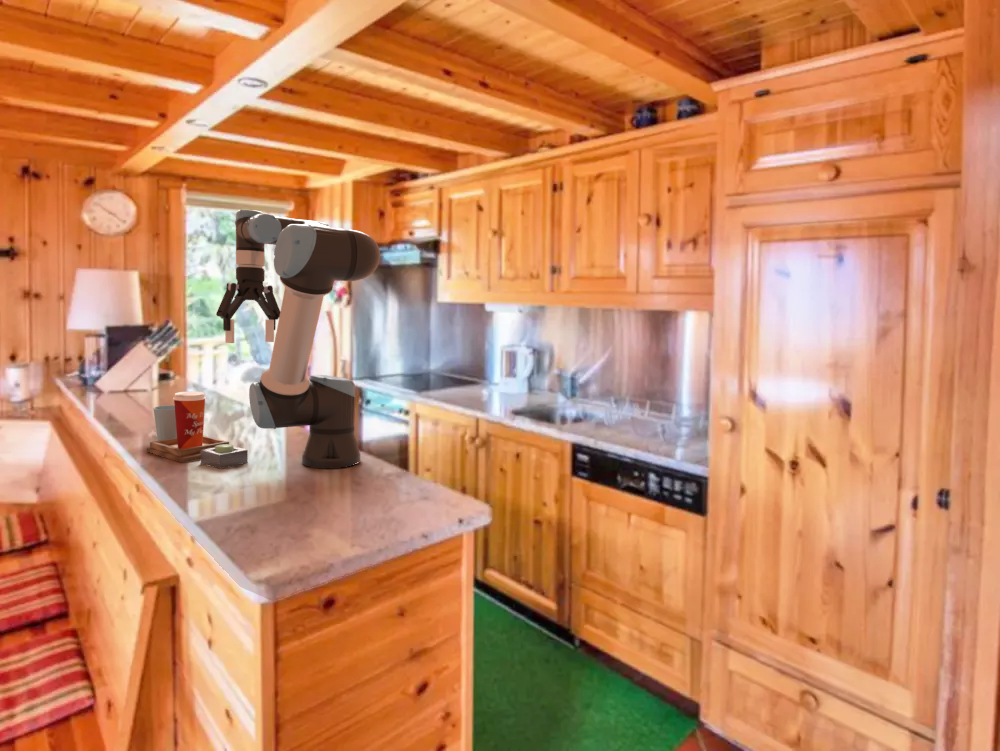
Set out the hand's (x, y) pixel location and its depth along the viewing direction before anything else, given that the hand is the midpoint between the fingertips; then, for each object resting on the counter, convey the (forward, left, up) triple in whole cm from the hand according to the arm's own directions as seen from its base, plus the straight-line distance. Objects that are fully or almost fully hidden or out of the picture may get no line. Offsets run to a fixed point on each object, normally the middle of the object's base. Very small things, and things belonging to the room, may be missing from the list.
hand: (250, 342), depth 181 cm
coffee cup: (+5, +15, -29) cm, 33 cm away
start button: (-11, +16, -30) cm, 36 cm away
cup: (+19, +13, -30) cm, 38 cm away
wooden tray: (+5, +15, -30) cm, 34 cm away
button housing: (-11, +16, -30) cm, 36 cm away
